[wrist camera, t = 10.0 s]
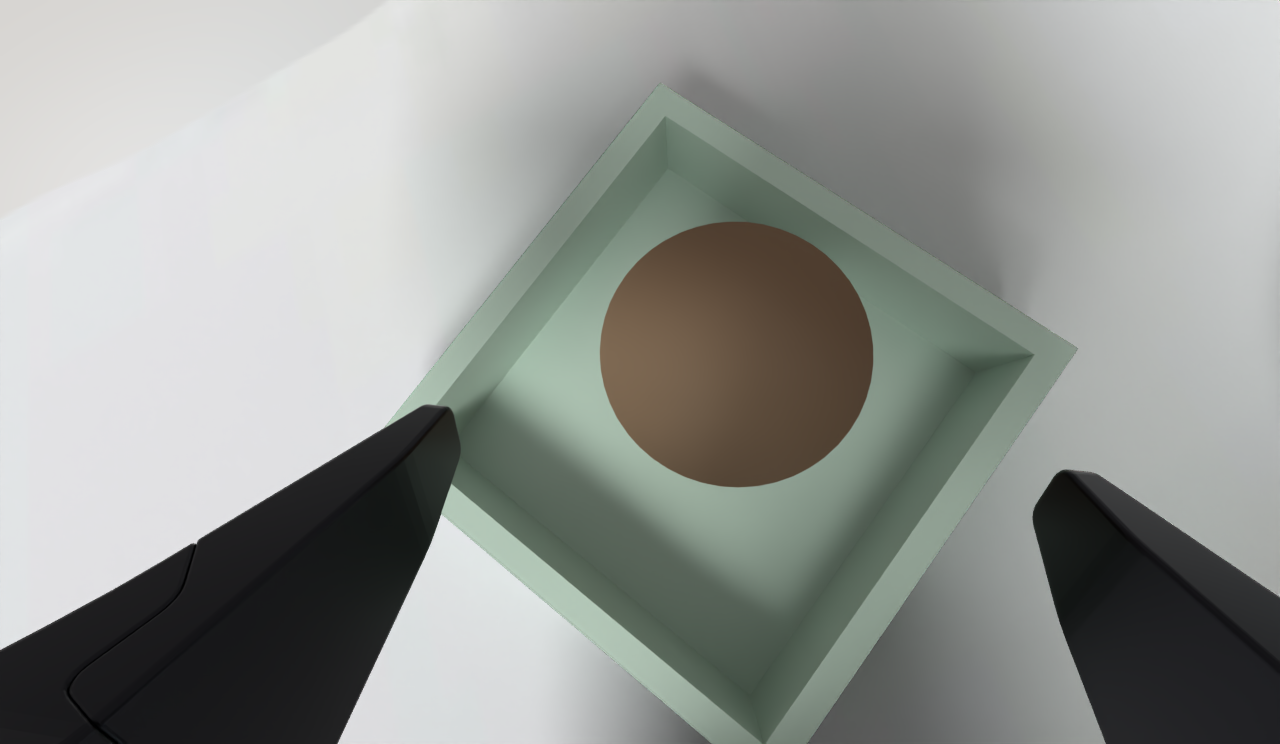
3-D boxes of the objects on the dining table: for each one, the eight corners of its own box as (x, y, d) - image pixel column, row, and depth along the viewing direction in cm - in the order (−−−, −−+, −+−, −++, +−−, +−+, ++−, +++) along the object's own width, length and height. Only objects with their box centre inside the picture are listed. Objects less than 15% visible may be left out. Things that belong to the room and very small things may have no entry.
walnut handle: (719, 499, 18) (767, 546, 8) (621, 425, 19) (546, 377, 8) (791, 400, 19) (928, 320, 8) (693, 330, 19) (703, 174, 9)
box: (754, 729, 17) (772, 795, 14) (422, 452, 20) (366, 450, 16) (1005, 369, 19) (1078, 348, 15) (664, 145, 21) (660, 82, 17)
